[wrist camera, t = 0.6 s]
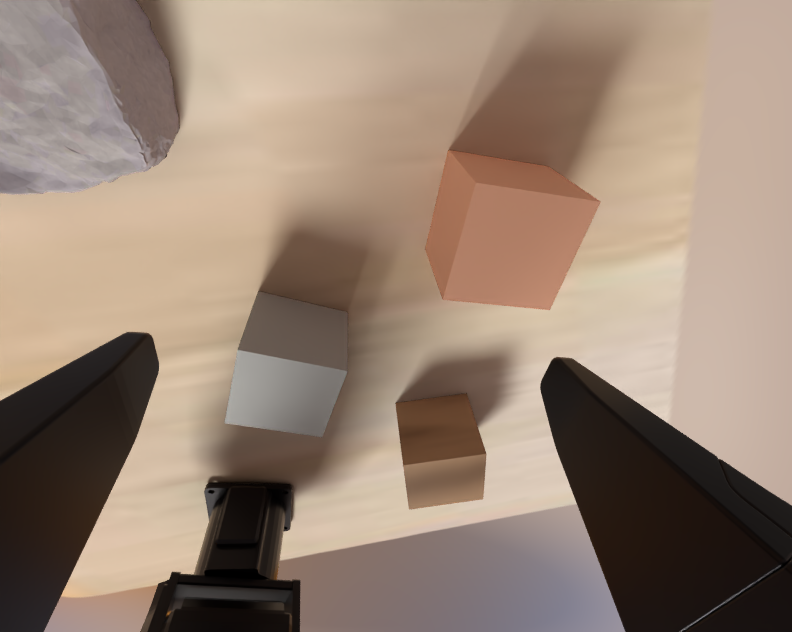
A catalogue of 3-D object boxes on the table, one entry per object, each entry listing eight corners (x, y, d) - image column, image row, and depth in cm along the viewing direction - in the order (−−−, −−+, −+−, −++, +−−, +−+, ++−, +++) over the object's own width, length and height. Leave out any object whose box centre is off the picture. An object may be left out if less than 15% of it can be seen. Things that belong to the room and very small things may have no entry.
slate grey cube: (326, 373, 26) (322, 437, 21) (245, 357, 24) (224, 423, 20) (348, 311, 23) (347, 371, 19) (258, 290, 22) (237, 349, 18)
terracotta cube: (512, 258, 22) (549, 309, 18) (424, 248, 21) (442, 299, 17) (547, 165, 19) (600, 201, 15) (448, 149, 18) (476, 182, 14)
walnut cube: (465, 437, 31) (483, 498, 27) (401, 446, 31) (409, 509, 27) (466, 392, 28) (486, 453, 24) (395, 402, 28) (403, 465, 24)
